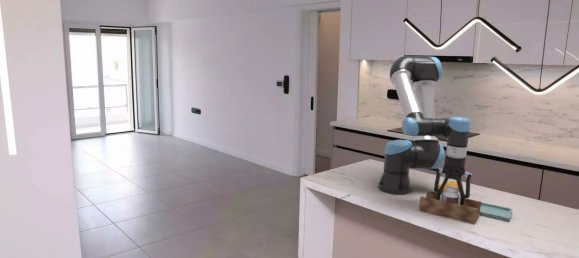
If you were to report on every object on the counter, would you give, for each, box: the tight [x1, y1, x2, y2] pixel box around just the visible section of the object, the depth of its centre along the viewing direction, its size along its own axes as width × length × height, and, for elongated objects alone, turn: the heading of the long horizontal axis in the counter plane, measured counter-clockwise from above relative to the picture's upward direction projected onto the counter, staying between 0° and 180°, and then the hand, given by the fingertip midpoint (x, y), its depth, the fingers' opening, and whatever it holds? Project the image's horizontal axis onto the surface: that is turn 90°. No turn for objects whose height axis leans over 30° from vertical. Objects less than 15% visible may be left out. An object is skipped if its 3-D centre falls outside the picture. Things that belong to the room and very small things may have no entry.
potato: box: [438, 180, 459, 194], centre depth 182 cm, size 7×14×7 cm, turn 128°
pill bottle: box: [442, 186, 460, 204], centre depth 163 cm, size 6×6×11 cm
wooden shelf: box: [418, 189, 482, 225], centre depth 164 cm, size 21×10×6 cm, turn 57°
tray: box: [479, 201, 513, 222], centre depth 166 cm, size 13×13×2 cm
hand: (449, 210), depth 164 cm, fingers closed on pill bottle, 6 cm apart
